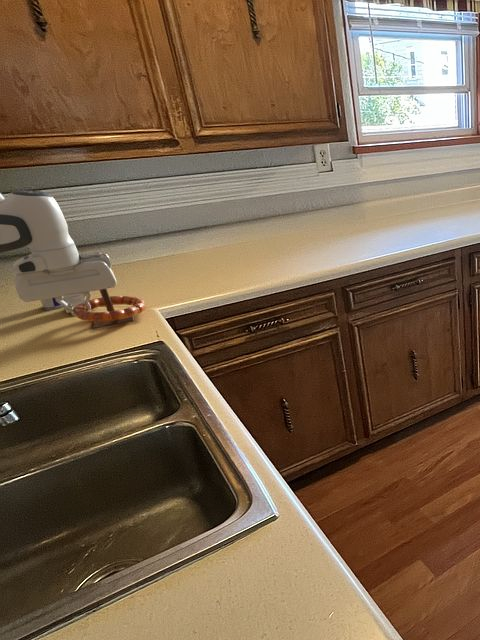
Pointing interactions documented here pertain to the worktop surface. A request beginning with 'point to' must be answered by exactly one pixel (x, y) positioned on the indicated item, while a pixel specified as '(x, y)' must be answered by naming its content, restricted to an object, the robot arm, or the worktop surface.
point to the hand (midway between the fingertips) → (79, 310)
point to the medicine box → (74, 300)
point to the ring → (113, 315)
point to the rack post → (110, 308)
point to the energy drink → (50, 304)
